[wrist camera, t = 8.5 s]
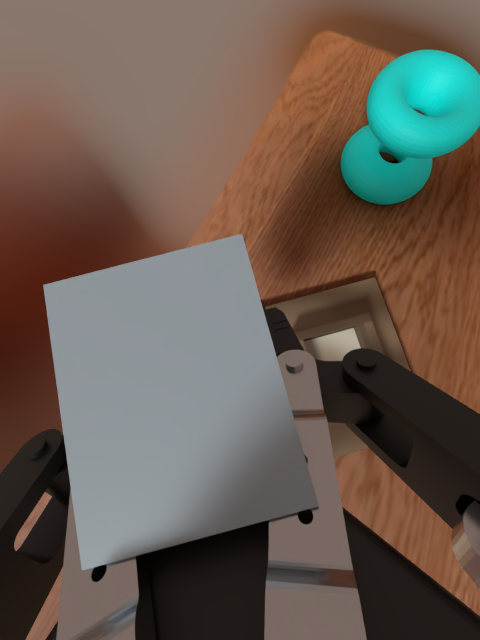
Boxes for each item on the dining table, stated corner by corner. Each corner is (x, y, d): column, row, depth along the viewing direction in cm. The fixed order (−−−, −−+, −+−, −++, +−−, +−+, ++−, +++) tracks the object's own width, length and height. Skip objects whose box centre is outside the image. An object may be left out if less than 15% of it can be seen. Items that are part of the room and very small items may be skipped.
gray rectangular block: (268, 406, 16) (319, 506, 4) (203, 423, 16) (81, 570, 4) (246, 326, 17) (242, 234, 5) (185, 342, 17) (42, 285, 5)
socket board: (425, 426, 28) (452, 435, 24) (291, 464, 27) (298, 479, 24) (370, 280, 30) (387, 268, 27) (249, 313, 30) (249, 305, 26)
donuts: (399, 26, 24) (511, 63, 23) (355, 125, 34) (433, 154, 33) (357, 112, 23) (475, 156, 22) (324, 190, 33) (404, 222, 32)
